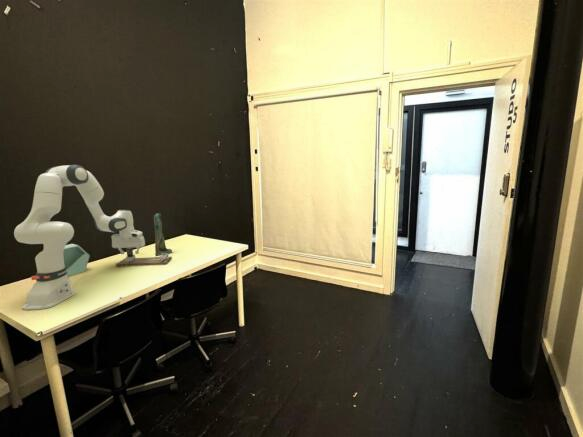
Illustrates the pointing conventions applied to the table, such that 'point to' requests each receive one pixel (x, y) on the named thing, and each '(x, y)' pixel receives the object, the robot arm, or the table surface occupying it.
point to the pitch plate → (146, 261)
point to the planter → (75, 259)
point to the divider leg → (130, 255)
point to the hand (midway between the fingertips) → (129, 253)
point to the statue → (159, 237)
